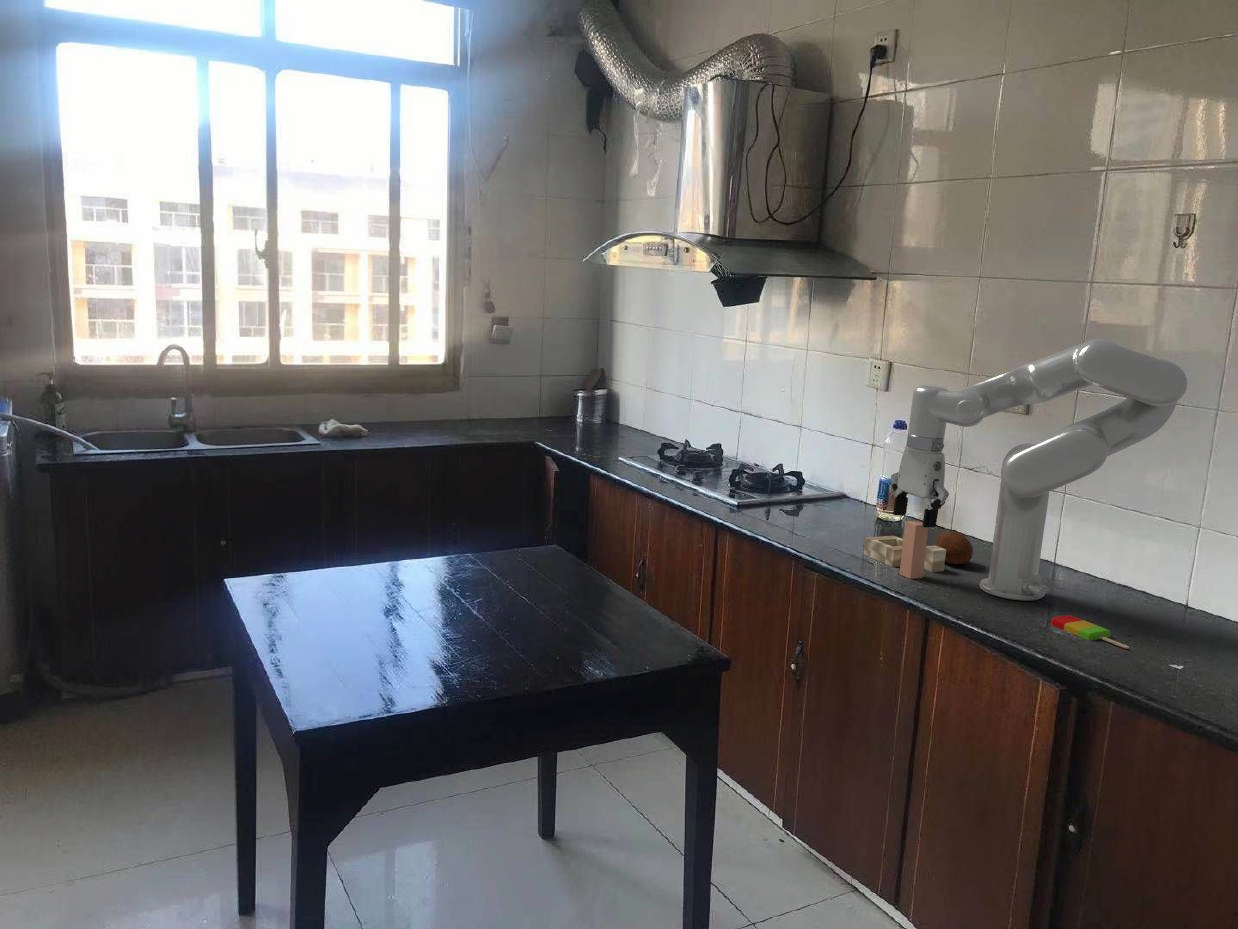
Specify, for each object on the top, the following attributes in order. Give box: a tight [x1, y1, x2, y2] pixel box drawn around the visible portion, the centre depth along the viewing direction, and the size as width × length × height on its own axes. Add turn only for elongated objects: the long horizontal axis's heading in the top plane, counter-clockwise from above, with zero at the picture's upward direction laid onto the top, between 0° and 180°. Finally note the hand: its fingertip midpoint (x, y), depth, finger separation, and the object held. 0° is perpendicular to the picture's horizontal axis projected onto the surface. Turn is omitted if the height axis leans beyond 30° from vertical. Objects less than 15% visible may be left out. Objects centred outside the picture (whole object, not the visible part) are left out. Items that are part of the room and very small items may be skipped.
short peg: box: [924, 544, 946, 573], centre depth 219 cm, size 4×4×5 cm
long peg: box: [899, 520, 929, 579], centre depth 213 cm, size 4×4×12 cm
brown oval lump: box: [934, 530, 974, 565], centre depth 225 cm, size 8×11×8 cm
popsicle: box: [1050, 614, 1130, 650], centre depth 181 cm, size 6×15×2 cm, turn 26°
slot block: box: [863, 535, 903, 568], centre depth 226 cm, size 10×8×4 cm
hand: (913, 520), depth 212 cm, fingers open, 9 cm apart
